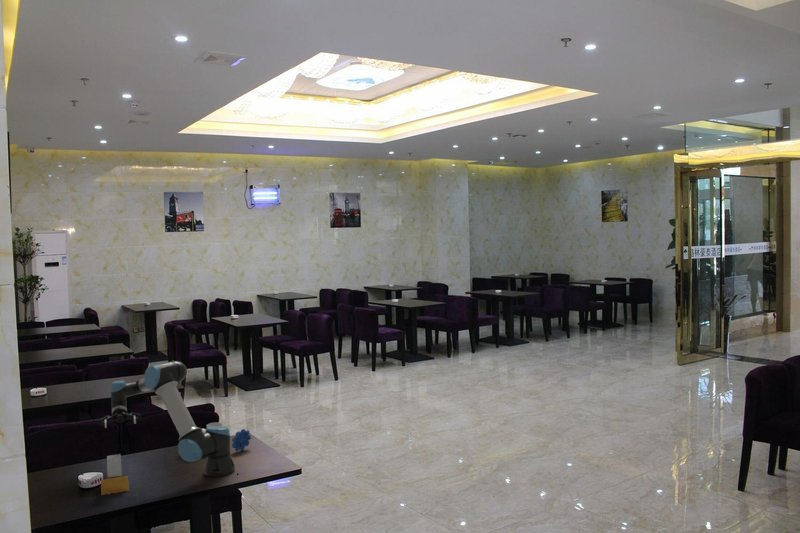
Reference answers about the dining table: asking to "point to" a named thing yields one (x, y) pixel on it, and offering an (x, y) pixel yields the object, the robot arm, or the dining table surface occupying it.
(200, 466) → the dining table surface
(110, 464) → the aluminium block
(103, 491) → the orange rectangular block
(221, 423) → the mug
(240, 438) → the grapes
